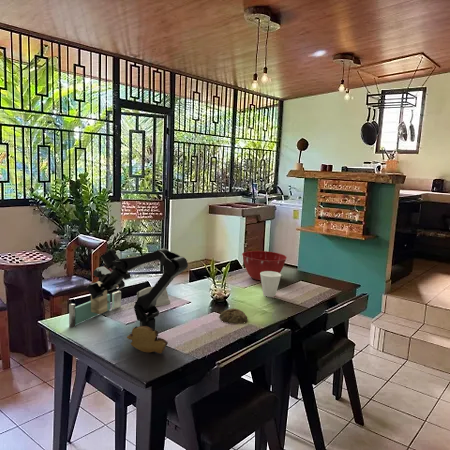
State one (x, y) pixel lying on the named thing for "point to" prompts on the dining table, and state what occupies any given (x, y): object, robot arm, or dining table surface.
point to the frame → (115, 304)
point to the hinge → (161, 300)
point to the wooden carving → (147, 340)
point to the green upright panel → (87, 311)
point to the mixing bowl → (263, 262)
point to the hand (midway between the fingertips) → (96, 296)
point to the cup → (270, 282)
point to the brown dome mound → (233, 316)
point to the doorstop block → (99, 302)
